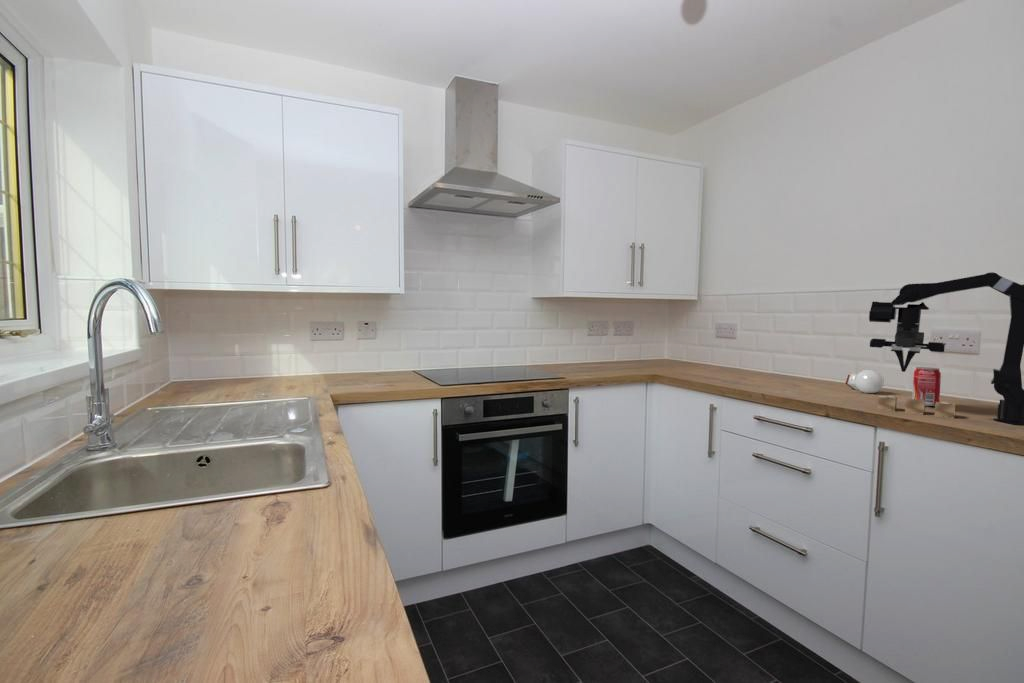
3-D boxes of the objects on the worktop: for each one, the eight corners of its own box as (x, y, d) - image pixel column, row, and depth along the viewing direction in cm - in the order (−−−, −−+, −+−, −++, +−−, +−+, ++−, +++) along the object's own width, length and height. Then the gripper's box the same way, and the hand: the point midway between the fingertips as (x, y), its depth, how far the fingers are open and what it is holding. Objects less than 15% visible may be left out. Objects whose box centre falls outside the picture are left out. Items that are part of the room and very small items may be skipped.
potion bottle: (874, 398, 191) (850, 396, 206) (895, 384, 191) (870, 383, 206) (859, 378, 192) (836, 378, 207) (880, 364, 191) (856, 365, 206)
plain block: (924, 413, 157) (925, 400, 157) (923, 415, 153) (924, 402, 153) (906, 410, 160) (907, 398, 160) (905, 412, 156) (905, 400, 156)
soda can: (944, 408, 166) (947, 369, 165) (919, 406, 167) (922, 368, 166) (930, 404, 173) (933, 367, 172) (907, 403, 174) (909, 366, 173)
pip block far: (896, 409, 161) (897, 396, 161) (894, 411, 158) (895, 398, 158) (879, 407, 164) (879, 394, 164) (877, 409, 161) (878, 396, 161)
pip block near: (954, 416, 152) (955, 402, 152) (954, 418, 149) (955, 404, 148) (935, 414, 155) (936, 400, 155) (934, 416, 152) (935, 402, 151)
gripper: (870, 321, 160) (865, 370, 161) (947, 325, 148) (941, 377, 149) (873, 321, 168) (869, 367, 170) (946, 325, 156) (941, 374, 157)
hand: (903, 371), depth 161 cm, fingers closed
